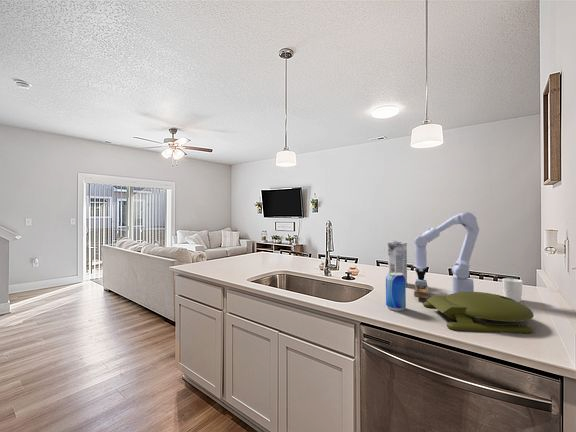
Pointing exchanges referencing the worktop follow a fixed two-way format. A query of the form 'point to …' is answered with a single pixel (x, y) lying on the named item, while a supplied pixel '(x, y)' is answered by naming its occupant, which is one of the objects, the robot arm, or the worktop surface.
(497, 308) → the spaceship
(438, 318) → the worktop surface
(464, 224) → the robot arm
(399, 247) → the juice carton
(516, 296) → the white cup
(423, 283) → the block
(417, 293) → the wooden tray
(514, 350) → the worktop surface
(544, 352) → the worktop surface
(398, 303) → the beer can
